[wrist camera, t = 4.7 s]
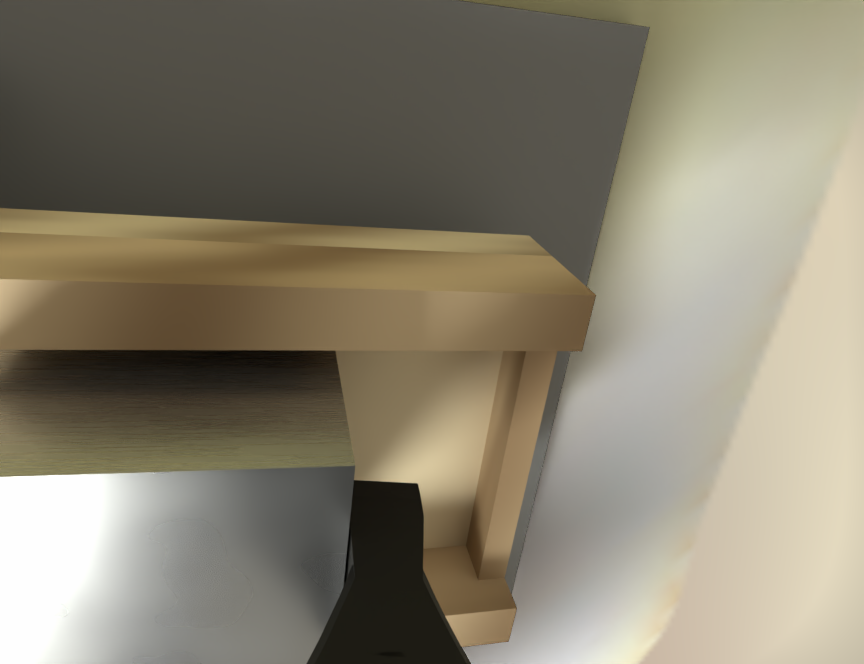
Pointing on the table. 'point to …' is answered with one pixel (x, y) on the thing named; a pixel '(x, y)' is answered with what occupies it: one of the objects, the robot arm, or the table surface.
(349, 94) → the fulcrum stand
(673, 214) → the table surface
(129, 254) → the balance beam
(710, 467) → the table surface
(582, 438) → the table surface
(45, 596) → the steel block
